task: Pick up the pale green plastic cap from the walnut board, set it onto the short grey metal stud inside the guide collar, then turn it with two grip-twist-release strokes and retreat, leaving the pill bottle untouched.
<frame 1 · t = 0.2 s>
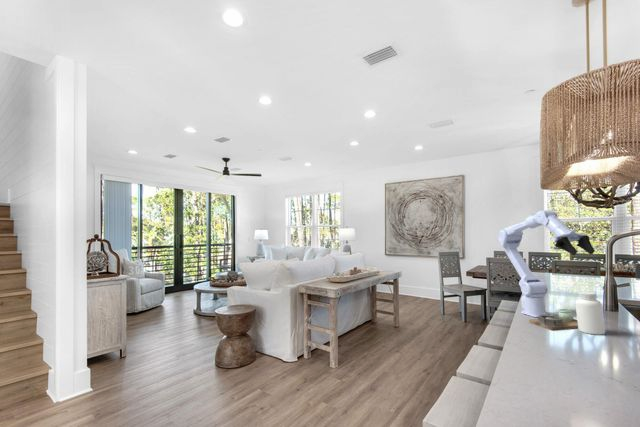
hand: (584, 253, 123), 31 cm above the table, tool tilted 45°, fingers open, 7 cm apart
pill bottle: (591, 332, 121), on the table
stud board: (559, 324, 132), on the table
cap: (566, 319, 134), point 1 cm above the table, touching stud board
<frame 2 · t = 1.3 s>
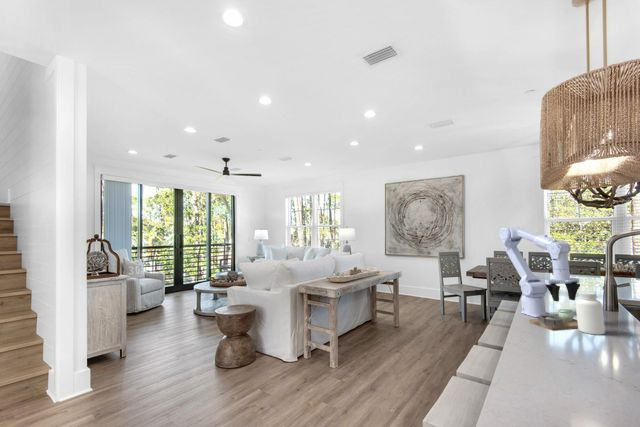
hand: (564, 300, 135), 9 cm above the table, tool pointing down, fingers open, 7 cm apart
nothing on the table moved.
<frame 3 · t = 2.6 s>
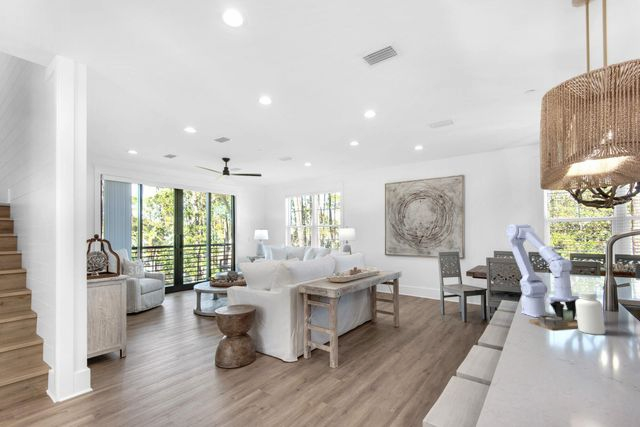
hand: (566, 318, 134), 2 cm above the table, tool pointing down, fingers closed on cap, 5 cm apart
cap: (566, 319, 134), point 1 cm above the table, touching gripper, stud board
everything else where it was.
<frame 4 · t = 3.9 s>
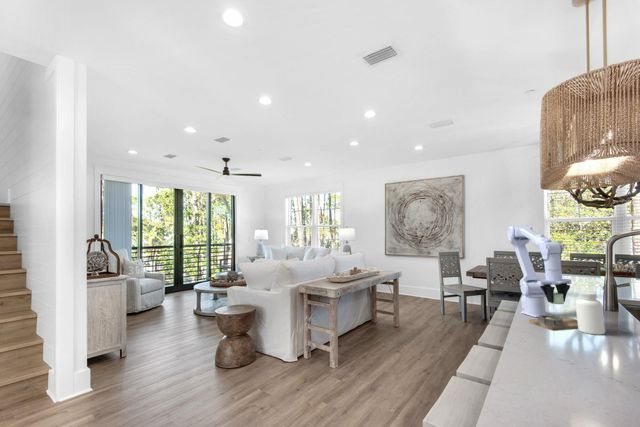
hand: (556, 301, 133), 9 cm above the table, tool pointing down, fingers closed on cap, 5 cm apart
cap: (556, 303, 132), point 9 cm above the table, touching gripper
everything else where it was.
when the fingers open (4 cm above the table, at t = 5.6 s): cap stays where it is, resting on stud board.
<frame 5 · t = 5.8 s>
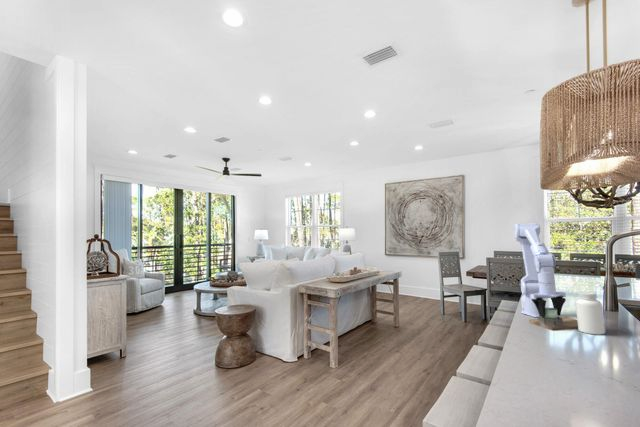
hand: (549, 315, 130), 4 cm above the table, tool pointing down, fingers open, 6 cm apart
cap: (550, 318, 130), point 3 cm above the table, touching stud board
everything else where it was.
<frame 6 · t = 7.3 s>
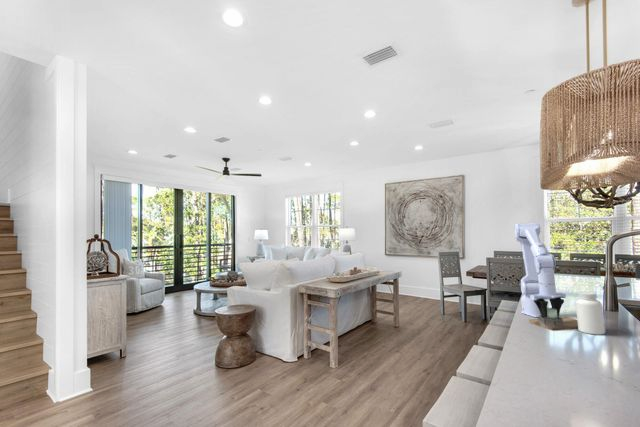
hand: (550, 316, 130), 4 cm above the table, tool pointing down, fingers closed on cap, 5 cm apart
cap: (550, 318, 130), point 3 cm above the table, touching gripper, stud board
everything else where it was.
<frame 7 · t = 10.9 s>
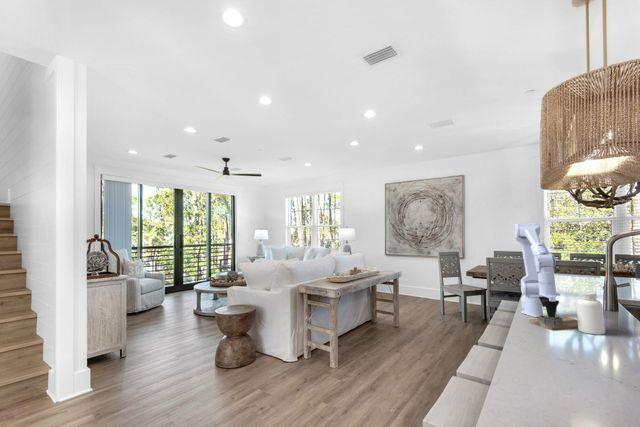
hand: (549, 315, 130), 4 cm above the table, tool pointing down, fingers closed on cap, 5 cm apart
cap: (550, 317, 130), point 4 cm above the table, touching gripper
everything else where it was.
when the fingers open (4 cm above the table, at t = 11.3 s): cap stays where it is, resting on stud board.
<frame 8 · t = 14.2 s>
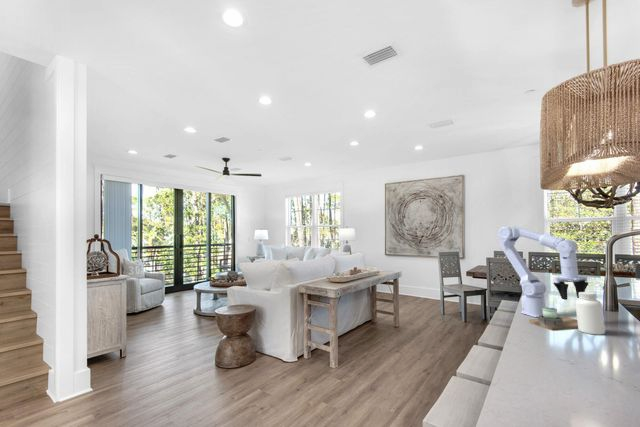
hand: (572, 298, 135), 10 cm above the table, tool pointing down, fingers open, 7 cm apart
cap: (550, 318, 130), point 3 cm above the table, touching stud board
everything else where it was.
at the end: cap 0.0 cm from the target spot on the stud board, point 3.2 cm above the stud board's base; cap tilted 0°; the gripper is holding nothing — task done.
